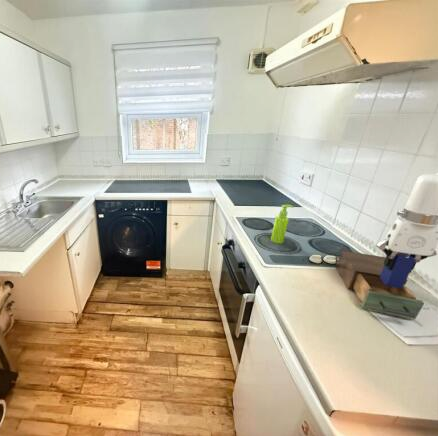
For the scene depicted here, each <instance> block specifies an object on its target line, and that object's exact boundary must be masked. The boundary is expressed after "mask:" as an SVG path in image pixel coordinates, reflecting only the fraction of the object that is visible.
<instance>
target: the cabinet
mask: <svg viewBox="0 0 438 436" xmlns="http://www.w3.org/2000/svg"><path fill="white" fill-rule="evenodd" d="M385 258H386V256H380V255H374V254H366V253H361V252H356V251H355V252H354V251H347V250H341V251H340V253H339V256H338V259H337V262H336V265H335V267H334V269H335V270H336V272H337V273H338V275H339V277H340V279H341V280H342V282H343V284H344V286H345V287H346V289H347V291H348V290H349V291H353V292H355V290H354V289H353V287H352V284H353V282H354V279H355V277H356V275H357V273H361V274H366V275H372V276H377V277H380V275H381V273H382V270H383V268H384V260H385ZM407 282H408V278H407V279H406V281H405V283H404V285H405V286H406V284H407Z"/></svg>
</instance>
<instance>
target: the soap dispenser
mask: <svg viewBox="0 0 438 436" xmlns="http://www.w3.org/2000/svg"><path fill="white" fill-rule="evenodd" d="M281 207H282V209H281V210H279V214H278V215H277V216H275V219H274V224H273V228H272V233H271V238H270V241H271V242H272V243H275V244H283V243H284V241H285V236H286V233H287V229H288V224H289V221H290V219H289V217H287V216H288V211H287V209H288V208H294V206H293V205H292V204H281Z"/></svg>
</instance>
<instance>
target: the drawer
mask: <svg viewBox="0 0 438 436" xmlns="http://www.w3.org/2000/svg"><path fill="white" fill-rule="evenodd" d="M352 287H353V289H354V290H355V291H354V292H355V294H356V295H357V297H358V299H359V300H360V302H361V306H360V307H361V308H362V309H363V310H367V311H373V312H377V313H382V314H385V315H391V316H396V317H399V318H404V319H409V320H413V321H415V320H416V319H417V317H418V316H419V313H420V312H421V310H422V309H423V306H424V305H425V302H424V301H423V300H421V299H417V297H416V296H415V294H414V293H412V291H411V290H410V289H409V288H408V287H407V286H406V284H405V285H403V287H402V289H401V288H396V287H390V286H386V285H385V284H384V283H383V281H382V280H381V279H380V278H379V277H377V276H372V275H366V274H361V273H357V275H356V277H355V279H354V282H353V284H352Z"/></svg>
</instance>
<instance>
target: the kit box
mask: <svg viewBox="0 0 438 436" xmlns="http://www.w3.org/2000/svg"><path fill="white" fill-rule="evenodd" d="M394 259H395V262H394V265H393V267H392V269H391V270H388V269H387V268H386V267H385V266H384V268H383V270H382V273H381V275H380V277H379V278H380V279H381V280H382V281H383V283H384V284H385V285H386V286H390V287H396V288H401V289H402V287H403V285H404V283H405V281H406V279H407V280H408V277H409V275H410V274H411V273H410V271H411V269H412V267H413V265H414V263H415V261H416V259H415V258H414V257H412V256H411V255H410V254H407V253H400V252H398V254H397V255H396V256H395V257H394ZM411 272H412V271H411Z"/></svg>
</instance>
